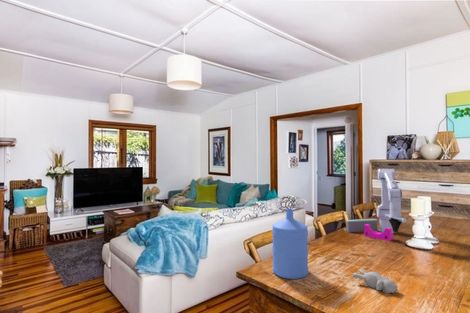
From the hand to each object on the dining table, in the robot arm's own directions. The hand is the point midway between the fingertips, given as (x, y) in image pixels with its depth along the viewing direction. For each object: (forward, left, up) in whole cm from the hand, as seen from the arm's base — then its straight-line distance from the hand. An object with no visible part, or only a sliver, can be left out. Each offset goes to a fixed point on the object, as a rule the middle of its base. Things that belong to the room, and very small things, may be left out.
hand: (395, 231), depth 159 cm
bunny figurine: (+48, +45, -7) cm, 66 cm away
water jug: (+76, +26, -7) cm, 81 cm away
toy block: (+1, -13, -8) cm, 15 cm away
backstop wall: (+2, -30, -7) cm, 31 cm away
